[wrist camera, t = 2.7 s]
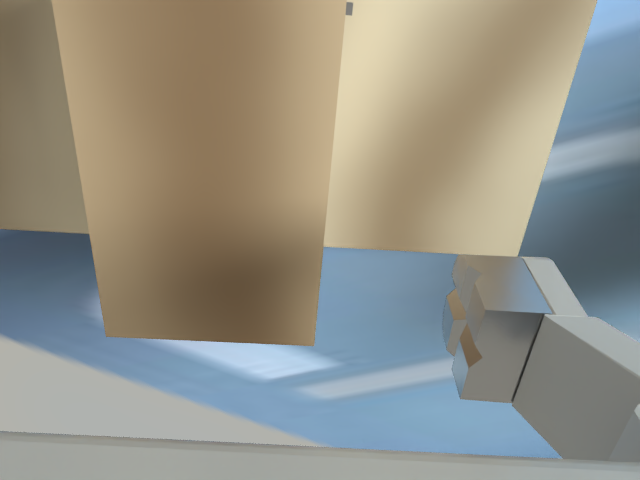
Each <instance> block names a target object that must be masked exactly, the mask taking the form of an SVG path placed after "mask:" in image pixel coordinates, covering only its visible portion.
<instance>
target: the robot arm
mask: <svg viewBox="0 0 640 480" xmlns="http://www.w3.org/2000/svg"><path fill="white" fill-rule="evenodd" d="M452 278H453V281H454V284H455V287H456V288H455V289H454V290H453V291H452V292H451V293H450V294H449V295H447V296H446V301H445V306H444V311H443V337H444V342H445V346H446V350H447V351H449V352H450V353H451V354H452V355H453V356H454V357H455V358H454V361H453V365H452V372H453V376H454V379H455V383H456V386H457V390H458V393H459V397H460V399H465V400H478V401H490V402H503V403H513V404H512V406H513V407H514V408H515V409H516V410H517V411H518V412H519V413H520V414H521V415H522V417H523V418H524V419H525V420H526V421H527V422H528V423H529V424H530V425H531V426H532V427H533V428H534V429H535V430H536V431H537V432H538V433H539V434H540V435H541V436H542V437H543V438H544V439H545V440H546V441H547V442H548V443H549V444H550V445H551V447H552V448H553V449H554V450H555V451H556V452H557V453H558V454H559V455H560V456H561V457H562V458H563V459H557V458H537V457H515V456H492V455H472V454H452V453H432V452H412V451H392V450H373V449H353V448H333V447H313V446H293V445H292V446H291V445H272V444H253V443H234V442H214V441H192V440H172V439H150V438H130V437H110V436H88V435H68V434H67V435H66V434H47V433H46V434H45V433H27V432H7V431H0V480H640V343H639V342H637V341H636V340H634V339H632V338H631V337H629V336H627V335H626V334H624V333H622V332H621V331H619V330H617V329H616V328H614V327H613V326H611V325H609V324H608V323H606V322H604V321H603V320H601V319H599V318H598V317H588V316H587V314H586V313H585V311H584V309H583V308H582V306H581V305H580V303H579V301H578V300H577V298H576V297H575V295H574V294H573V292H572V290H571V289H570V287H569V286H568V284H567V282H566V281H565V279H564V278H563V276H562V274H561V273H560V271H559V270H558V268H557V266H556V265H555V263H554V262H553V260H551V259H549V258H547V257H513V256H487V255H458V257H457V259H456V261H455V264H454V267H453V271H452Z"/></svg>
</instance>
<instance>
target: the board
mask: <svg viewBox="0 0 640 480" xmlns="http://www.w3.org/2000/svg"><path fill="white" fill-rule="evenodd" d="M596 3H597V0H347V3H346V14H345V24H344V35H343V45H342V56H341V67H340V77H339V88H338V98H337V109H336V119H335V130H334V140H333V151H332V162H331V172H330V183H329V193H328V204H327V214H326V225H325V235H324V246H323V247H340V248H358V249H377V250H395V251H413V252H432V253H450V254H468V255H487V256H513V257H517V256H518V253H519V250H520V247H521V244H522V240H523V237H524V234H525V231H526V228H527V224H528V221H529V218H530V215H531V212H532V208H533V205H534V202H535V199H536V195H537V192H538V189H539V186H540V183H541V179H542V176H543V173H544V170H545V167H546V163H547V160H548V157H549V154H550V151H551V147H552V144H553V141H554V138H555V135H556V131H557V128H558V125H559V122H560V119H561V115H562V112H563V109H564V106H565V102H566V99H567V96H568V93H569V90H570V86H571V83H572V80H573V77H574V74H575V70H576V67H577V64H578V61H579V58H580V54H581V51H582V48H583V45H584V42H585V38H586V35H587V32H588V29H589V26H590V22H591V19H592V16H593V13H594V10H595V6H596ZM0 229H9V230H28V231H46V232H64V233H83V234H89V229H88V222H87V216H86V210H85V204H84V198H83V192H82V185H81V179H80V173H79V167H78V161H77V154H76V148H75V142H74V136H73V130H72V124H71V117H70V111H69V105H68V99H67V93H66V86H65V80H64V74H63V68H62V62H61V56H60V49H59V43H58V37H57V31H56V25H55V18H54V12H53V6H52V0H0Z"/></svg>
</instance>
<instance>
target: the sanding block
mask: <svg viewBox="0 0 640 480" xmlns="http://www.w3.org/2000/svg"><path fill="white" fill-rule="evenodd" d="M346 3H347V0H52V6H53V12H54V18H55V25H56V31H57V37H58V43H59V49H60V56H61V62H62V68H63V74H64V80H65V86H66V93H67V99H68V105H69V111H70V117H71V124H72V130H73V136H74V142H75V148H76V154H77V161H78V167H79V173H80V179H81V185H82V192H83V198H84V204H85V210H86V216H87V222H88V229H89V235H90V241H91V247H92V253H93V260H94V266H95V272H96V278H97V284H98V290H99V297H100V303H101V309H102V315H103V321H104V328H105V334H106V337H124V338H146V339H169V340H191V341H213V342H236V343H258V344H280V345H303V346H314V341H315V330H316V320H317V309H318V299H319V288H320V278H321V267H322V257H323V246H324V235H325V225H326V214H327V204H328V193H329V183H330V172H331V162H332V151H333V140H334V130H335V119H336V109H337V98H338V88H339V77H340V67H341V56H342V45H343V35H344V24H345V14H346Z"/></svg>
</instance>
